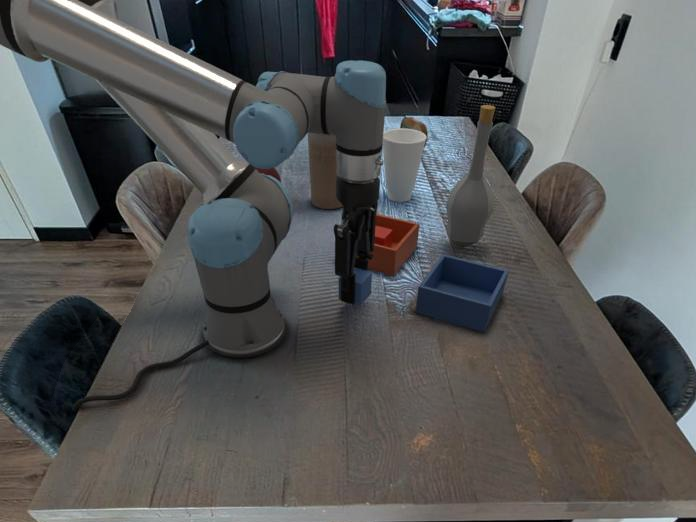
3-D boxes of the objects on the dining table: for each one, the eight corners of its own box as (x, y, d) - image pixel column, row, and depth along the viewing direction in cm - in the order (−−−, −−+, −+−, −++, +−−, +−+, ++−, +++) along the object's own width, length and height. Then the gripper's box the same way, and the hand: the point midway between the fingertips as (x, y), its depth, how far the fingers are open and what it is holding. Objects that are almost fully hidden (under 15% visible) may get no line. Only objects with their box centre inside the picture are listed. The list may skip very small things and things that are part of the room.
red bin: (393, 275, 107) (395, 250, 103) (336, 260, 111) (336, 235, 107) (417, 247, 116) (419, 223, 112) (363, 234, 120) (363, 210, 116)
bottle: (449, 260, 112) (474, 116, 90) (432, 238, 120) (451, 100, 98) (492, 255, 115) (527, 113, 93) (473, 234, 122) (500, 98, 100)
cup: (398, 209, 131) (402, 146, 119) (370, 195, 137) (372, 133, 125) (428, 198, 136) (436, 137, 124) (400, 185, 142) (405, 125, 131)
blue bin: (484, 332, 94) (490, 306, 89) (415, 312, 98) (418, 286, 93) (502, 295, 103) (509, 270, 98) (438, 278, 107) (442, 253, 102)
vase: (353, 200, 134) (354, 83, 114) (334, 213, 128) (331, 92, 108) (324, 192, 137) (320, 77, 117) (304, 204, 132) (296, 85, 111)
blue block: (360, 306, 95) (361, 284, 91) (338, 299, 96) (338, 277, 92) (371, 293, 98) (372, 272, 94) (349, 287, 99) (349, 265, 95)
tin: (398, 140, 170) (400, 113, 164) (406, 139, 171) (408, 112, 164) (419, 154, 160) (421, 126, 154) (427, 153, 161) (430, 125, 155)
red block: (383, 258, 111) (384, 238, 107) (363, 253, 112) (364, 233, 109) (391, 249, 114) (392, 229, 110) (372, 244, 116) (373, 224, 112)
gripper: (354, 200, 73) (350, 323, 90) (399, 163, 84) (388, 279, 101) (312, 190, 75) (316, 312, 92) (361, 155, 86) (356, 270, 103)
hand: (354, 294), depth 97 cm, fingers closed on blue block, 5 cm apart
